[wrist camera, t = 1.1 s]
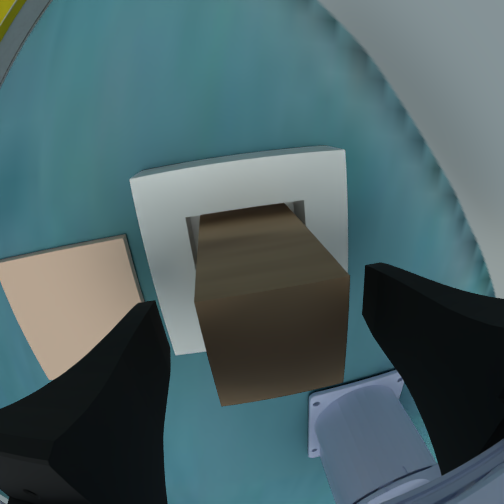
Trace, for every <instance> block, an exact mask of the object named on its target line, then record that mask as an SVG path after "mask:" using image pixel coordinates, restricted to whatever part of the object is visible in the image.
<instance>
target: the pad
mask: <svg viewBox="0 0 504 504" xmlns="http://www.w3.org/2000/svg"><path fill="white" fill-rule="evenodd" d="M0 281H1V284H2V286H3V289H4V291H5V294H6V296H7V298H8V301H9V303H10V305H11V308H12V310H13V312H14V314H15V316H16V319H17V321H18V323H19V325H20V327H21V329H22V331H23V333H24V335H25V337H26V339H27V341H28V343H29V345H30V347H31V349H32V350H33V352H34V354H35V356H36V358H37V360H38V361H39V363H40V365H41V367H42V368H43V370H44V372H45V373H46V375H47V377H48V378H49V380H54V379H56V378H57V377H59V376H60V375H62V374H63V373H64V372H66V371H67V370H68V369H70V368H71V367H72V366H73V365H75V364H76V363H77V362H78V361H80V360H81V359H82V358H83V357H84V356H85V355H86V354H88V353H89V352H90V351H91V350H92V349H93V348H94V347H95V346H96V345H97V344H98V343H99V342H100V341H101V340H102V339H103V338H104V337H105V336H106V335H107V334H108V333H109V332H110V331H111V330H112V329H113V328H114V327H115V326H116V325H117V324H118V323H119V321H120V320H121V319H122V318H123V317H124V316H125V315H126V314H127V313H128V312H129V311H130V310H131V309H132V308H133V307H134V306H135V305H136V304H137V303H140V302H144V298H143V295H142V292H141V288H140V285H139V282H138V278H137V275H136V271H135V268H134V264H133V260H132V257H131V253H130V249H129V245H128V241H127V237H126V234H124V235H118V236H113V237H108V238H102V239H97V240H92V241H87V242H82V243H77V244H72V245H67V246H62V247H57V248H52V249H47V250H42V251H38V252H33V253H28V254H24V255H19V256H15V257H10V258H6V259H1V260H0Z"/></svg>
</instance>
